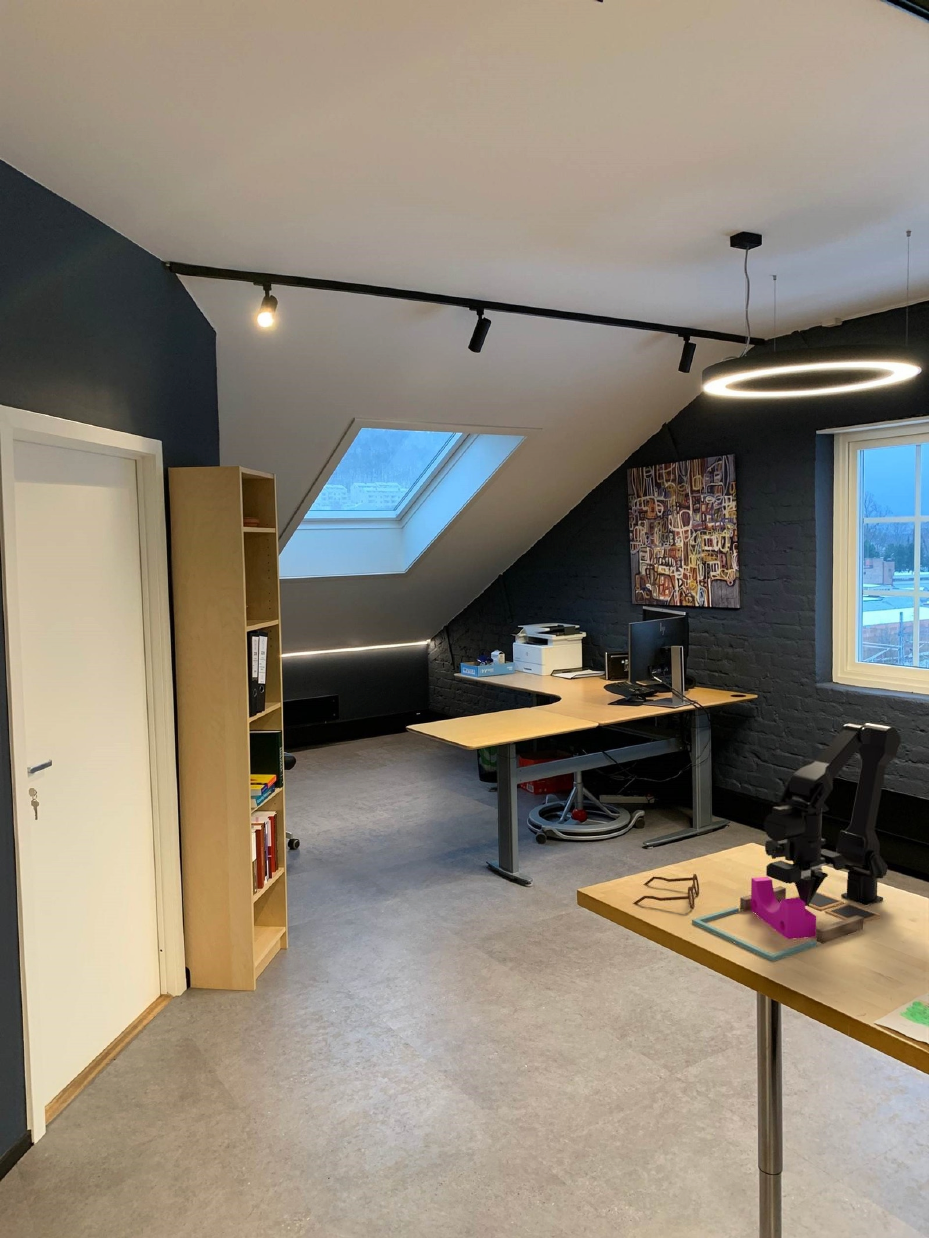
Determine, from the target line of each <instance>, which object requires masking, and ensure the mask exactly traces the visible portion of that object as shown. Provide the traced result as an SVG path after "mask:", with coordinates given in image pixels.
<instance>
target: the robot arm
mask: <svg viewBox="0 0 929 1238" xmlns="http://www.w3.org/2000/svg"><path fill="white" fill-rule="evenodd" d="M901 739H902V738H901V735H900V734H899V732H898V730H897V729H896V728H895V727H893V726H887V725H882V724H876V723H871V722H866V723H864V724H863V725H861V724H855V723H846V724H844V725H843V726H842V727H841V730H840V732H839V734H838V735H837V736H836V737H835V738H834V739H833V741H832V742H830V744H829V745H828V746H827V747H826V748H825V750H824V751H822V752H821V754H820V755H819V757H818V758H816V760H814V761H813V763H811V764H810V763H809V764H807V765H805V766H802V767H801V768H799V769H798V770H796V771H795V772H794V773H793V774H792V775H791V776H790V778H789V779H788V782H787V784H786V786H785V788H784V789H783V791H782V794H781V796H780V798H779V801H778V805H779V806H773V807H772V808H771V809H772V810H771V811H772V812H771V813H768V815H766V817H765V819H764V820H763V828H764V832H765V834H766V835H767V837H768V838H769V839H770V840H765V844H764V845H765V846H764V851H765V854H766V855H767V856H769V857H771V859H772V860H775V859H777V858H784V860H786V861H788V862H786V861H783V860H777V861H773V862H769V864H767V865H766V866H765V867H766V871H765V872H766V873H765V874H766V877H769V878H770V879H774V880H776V881H780V882H782V883H785V884H788V885H789V884H794V885H795V887H796V890H797V894H798V895H799V897H800V899H801V900H802V901H804V902H805V907H807V906H808V905H809V904H810V902H811V900H812V898H813V897H814V895H815V893H816V891H817V892H818V890H819V888H820V886H821V885H822V883H823V882H824V881H825V879H826V878H827V877H828V876H829V874H828V873H827V872H824V871H823V868H822V867H824V866H827V865H828V866H829V865H832V867H833V869H834V870H836V871H840V870H846V871H848V872H847V879H846V892H843V893H841V894H840V896H841V898H844V899H847V900H850V901H852V902H855V903H858V904H860V905H862V906H869V905H873V904H876V903H878V902H881V901H884V897H883V896H879V895H878V879H883V878H884V877H885V876H887V872H888V868H889V865H888V864H887V863H886V862H885V860H884V859H883V858H882V856H881V854H880V846H881V845H880V842H879V841H880V840H879V839H878V836H877V834H876V831H875V830H876V823H877V818H878V812H879V808H880V807H879V806H880V801H881V797H882V792H883V791H882V790H883V786H884V779H885V775H886V769H887V767H888V766H889V764H890V763H891V762H892V761H893V760H894V759H895V758H896V757H897V753H898V750H899V748H900V747H899V746H900V745H901V743H902V742H901ZM857 752H858V754H859V757H860V760H861V767H860V772H859V777H858V782H857V786H856V787H857V788H856V793H855V799H854V804H853V809H852V814H851V821H850V824H849V826H848V827H847V828H846V829H845V830H840V831H839V832H838V838H837V843H836V845H835V849H836V851H832V850H828V849H825V848H822V846H824V845H827V843H826V842H827V841H826V839H825V838H822V830H823V829H822V825H823V824H822V823H823V821H822V820H823V817H822V816H823V812H824V813H825V812H827V811H829V807H828V806H827V805H826V804H825V802H826V799H828V797H829V796H830V794H831V792H832V791H833V788H834V787H833V784H834V779H835V777H836V776H837V775H838V774H839V772H840V771H841V770H842V769H844V766H845V765H846V764H847V763H848V762H849V761H850V760H851V758H852V757H853V756H854V755H855V754H856V753H857ZM790 862H792V863H790ZM808 907H809V906H808Z"/></svg>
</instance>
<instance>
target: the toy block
mask: <svg viewBox="0 0 929 1238" xmlns="http://www.w3.org/2000/svg"><path fill="white" fill-rule="evenodd" d="M750 883H751V885H750V886H751V888H750V889H751V890H750V891H751V892H750V895H751V910H750V911H751V912H752V913H753V912H754V913H753V914H755V913H756V914H755V916H757V915H758V916H759V917H758V916H757V917H758V918H760V919H761V920H762V919H763V920H762V921H764V922H765V923H766V924H767V923H768V924H767V925H768V926H770V927H771V928H772V929H774V930H775V931H776V932H777V933H778V934H780V935H781V934H782V935H781V936H783V937H784V938H785V939H786V938H787V940H794V939H793V938H797V939H805V938H804V937H808V938H816V929H817V915H816V914H815V913H813V912H811V911H809V910H808V909H807V908H806V906H805V902H804V901H802V900H801V899H799V898H791V897H789V898H786V899H781V901H777V899H776V896H775V894H774V890H773V888H774V885H773V878H771V877H768V876H759V877H751V881H750Z"/></svg>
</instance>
